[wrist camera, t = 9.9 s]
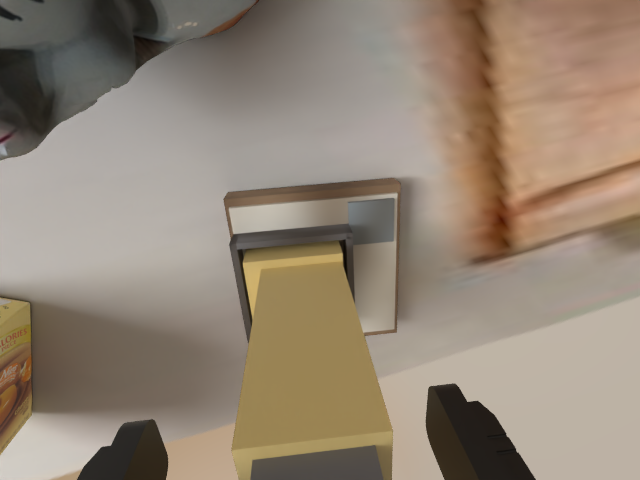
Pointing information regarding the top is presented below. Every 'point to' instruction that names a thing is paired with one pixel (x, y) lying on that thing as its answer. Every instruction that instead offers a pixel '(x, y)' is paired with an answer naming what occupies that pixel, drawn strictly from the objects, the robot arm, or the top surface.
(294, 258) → the ochre key
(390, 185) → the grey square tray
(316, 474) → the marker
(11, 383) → the candy box
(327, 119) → the top surface
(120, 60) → the lucky cat figurine
